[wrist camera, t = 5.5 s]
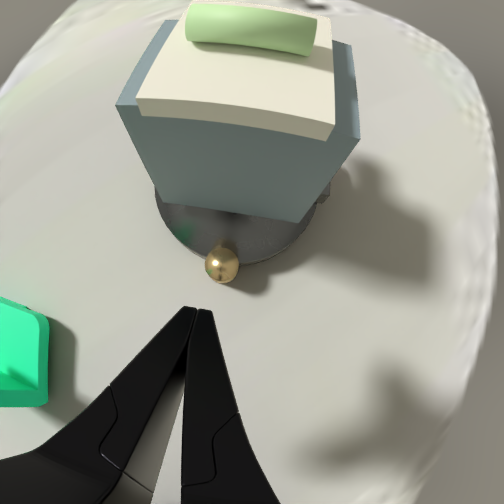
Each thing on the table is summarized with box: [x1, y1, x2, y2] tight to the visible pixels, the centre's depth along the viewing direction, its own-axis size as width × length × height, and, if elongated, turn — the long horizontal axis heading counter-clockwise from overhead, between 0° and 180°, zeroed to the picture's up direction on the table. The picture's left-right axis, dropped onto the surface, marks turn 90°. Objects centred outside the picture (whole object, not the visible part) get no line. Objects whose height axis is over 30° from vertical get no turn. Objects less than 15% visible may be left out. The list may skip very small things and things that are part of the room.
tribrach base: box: [155, 182, 330, 284], centre depth 21 cm, size 13×13×4 cm
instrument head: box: [115, 0, 360, 223], centre depth 14 cm, size 10×10×13 cm
